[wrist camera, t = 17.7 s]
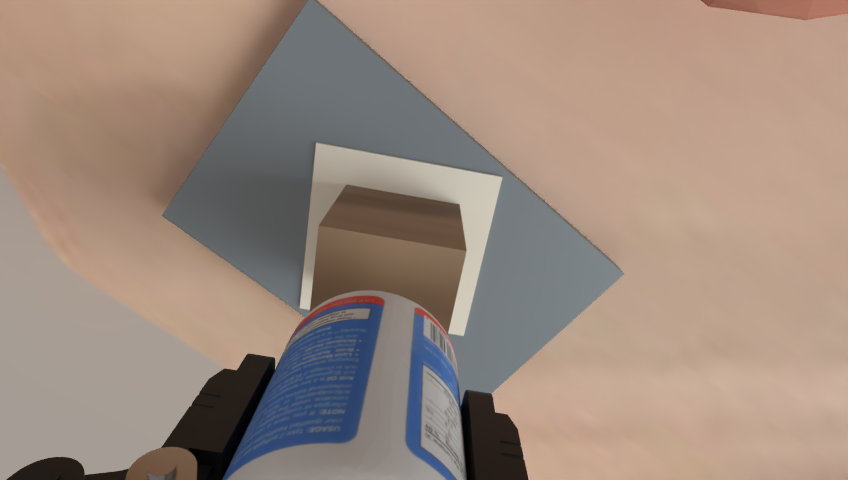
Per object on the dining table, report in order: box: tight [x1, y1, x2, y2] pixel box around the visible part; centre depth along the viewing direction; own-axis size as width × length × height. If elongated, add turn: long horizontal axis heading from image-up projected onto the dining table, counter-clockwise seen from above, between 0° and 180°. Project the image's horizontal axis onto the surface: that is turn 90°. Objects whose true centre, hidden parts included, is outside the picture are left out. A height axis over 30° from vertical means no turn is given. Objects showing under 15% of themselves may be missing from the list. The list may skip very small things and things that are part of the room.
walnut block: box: [310, 184, 467, 335], centre depth 22 cm, size 6×6×6 cm
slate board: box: [162, 0, 624, 404], centre depth 25 cm, size 20×13×1 cm, turn 50°
